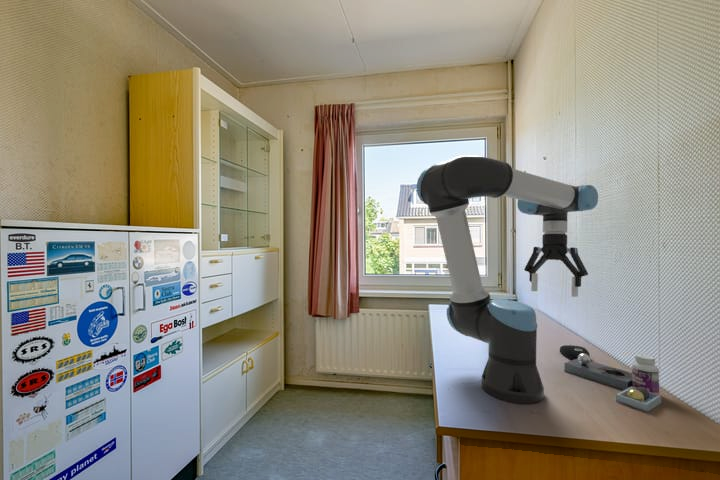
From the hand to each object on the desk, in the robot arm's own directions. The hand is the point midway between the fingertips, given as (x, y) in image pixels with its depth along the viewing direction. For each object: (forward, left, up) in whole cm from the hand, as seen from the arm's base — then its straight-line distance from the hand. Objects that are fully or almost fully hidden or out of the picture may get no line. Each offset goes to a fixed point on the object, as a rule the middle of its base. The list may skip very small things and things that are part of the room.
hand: (553, 293), depth 113 cm
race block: (-6, -17, -22) cm, 28 cm away
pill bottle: (-7, -28, -22) cm, 36 cm away
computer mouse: (+6, -4, -23) cm, 24 cm away
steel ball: (-6, -12, -18) cm, 23 cm away
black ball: (-13, -29, -20) cm, 38 cm away
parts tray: (-15, -29, -22) cm, 39 cm away
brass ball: (-17, -29, -20) cm, 39 cm away
